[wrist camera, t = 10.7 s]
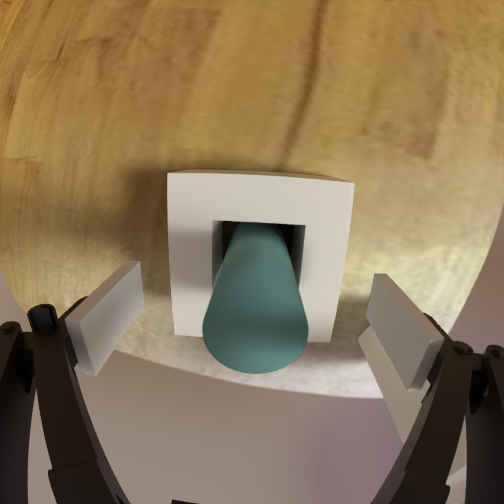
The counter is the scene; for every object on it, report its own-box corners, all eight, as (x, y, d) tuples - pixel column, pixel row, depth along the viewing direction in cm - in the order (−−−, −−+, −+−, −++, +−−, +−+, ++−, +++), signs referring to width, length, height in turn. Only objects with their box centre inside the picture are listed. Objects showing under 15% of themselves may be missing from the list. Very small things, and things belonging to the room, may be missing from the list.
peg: (232, 214, 25) (200, 283, 11) (285, 217, 25) (315, 288, 11) (230, 264, 26) (204, 370, 13) (281, 267, 26) (301, 374, 13)
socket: (189, 169, 23) (167, 173, 18) (332, 176, 23) (354, 183, 18) (190, 299, 27) (174, 334, 21) (317, 305, 27) (329, 342, 21)
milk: (356, 338, 28) (430, 532, 7) (395, 295, 27) (520, 471, 6) (389, 360, 29) (463, 522, 8) (425, 321, 28) (532, 471, 7)
